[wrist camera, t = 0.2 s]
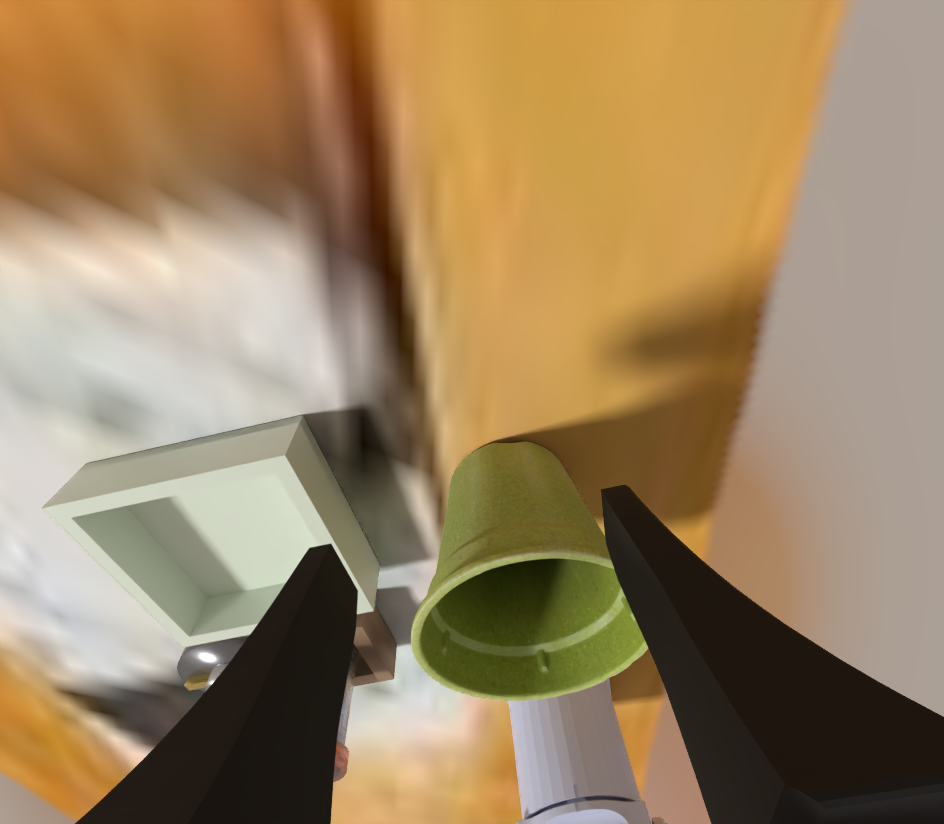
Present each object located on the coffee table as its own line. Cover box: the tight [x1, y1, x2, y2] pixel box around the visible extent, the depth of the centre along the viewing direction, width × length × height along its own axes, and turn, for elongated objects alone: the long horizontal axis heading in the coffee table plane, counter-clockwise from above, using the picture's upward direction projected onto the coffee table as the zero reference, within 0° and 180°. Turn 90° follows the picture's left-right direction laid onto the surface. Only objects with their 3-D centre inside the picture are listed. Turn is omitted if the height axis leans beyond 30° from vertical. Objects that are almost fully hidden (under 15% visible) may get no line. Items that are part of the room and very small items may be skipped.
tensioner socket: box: [353, 605, 397, 686], centre depth 30 cm, size 6×6×2 cm
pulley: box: [177, 635, 249, 692], centre depth 30 cm, size 6×6×3 cm
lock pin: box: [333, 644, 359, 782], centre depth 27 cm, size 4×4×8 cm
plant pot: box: [411, 441, 648, 701], centre depth 21 cm, size 9×9×9 cm
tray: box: [41, 415, 380, 647], centre depth 24 cm, size 11×11×3 cm
